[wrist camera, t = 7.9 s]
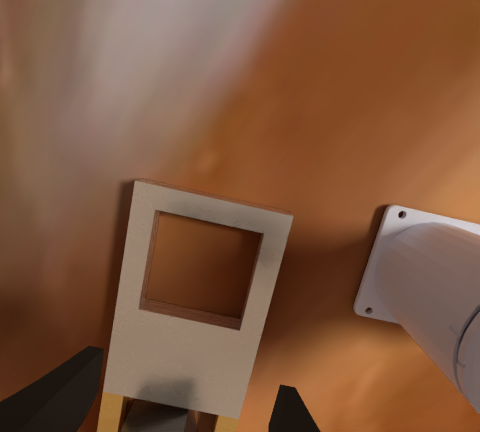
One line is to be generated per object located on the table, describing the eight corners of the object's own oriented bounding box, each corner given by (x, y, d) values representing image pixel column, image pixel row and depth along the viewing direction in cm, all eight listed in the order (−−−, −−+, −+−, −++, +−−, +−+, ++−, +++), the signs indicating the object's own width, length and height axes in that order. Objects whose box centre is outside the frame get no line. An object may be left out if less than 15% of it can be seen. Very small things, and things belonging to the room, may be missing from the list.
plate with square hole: (290, 211, 21) (293, 216, 19) (216, 486, 26) (215, 507, 24) (142, 178, 21) (134, 180, 19) (97, 463, 26) (89, 483, 24)
